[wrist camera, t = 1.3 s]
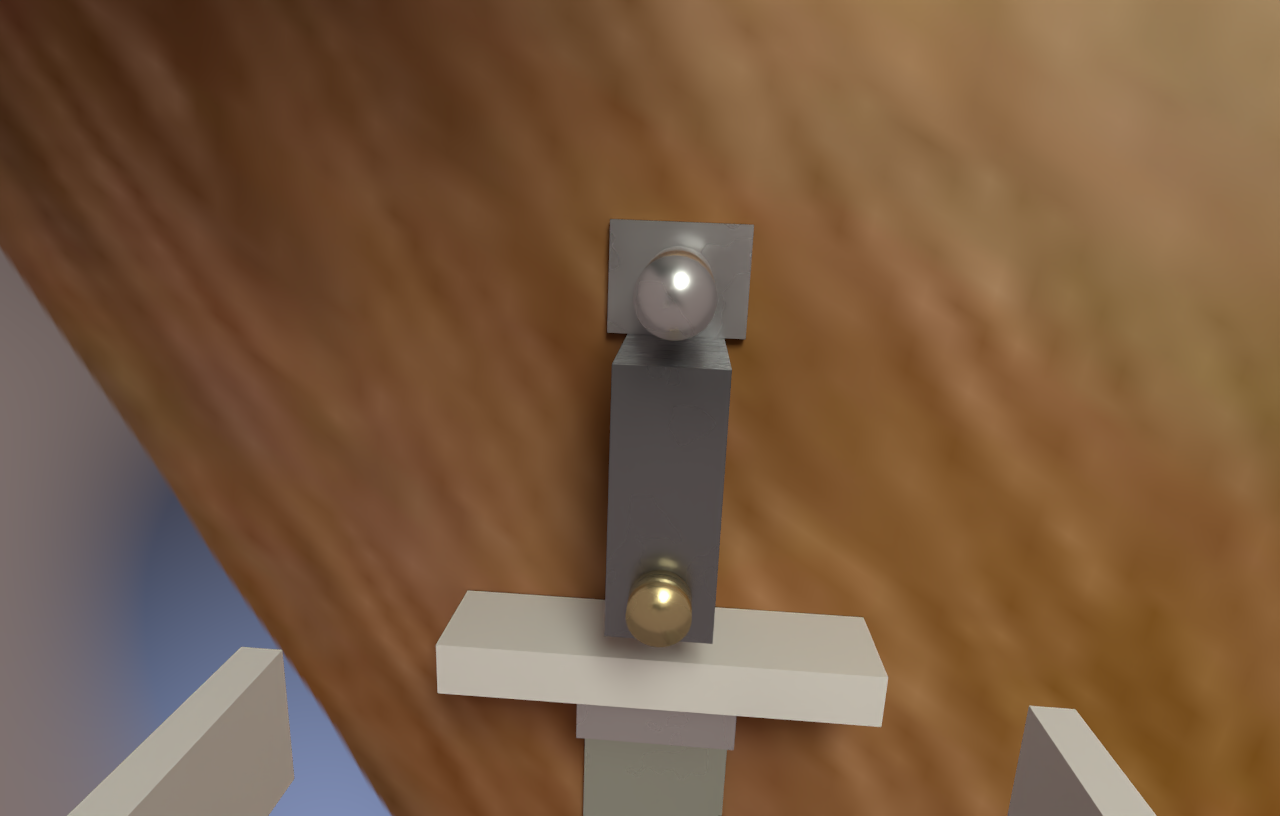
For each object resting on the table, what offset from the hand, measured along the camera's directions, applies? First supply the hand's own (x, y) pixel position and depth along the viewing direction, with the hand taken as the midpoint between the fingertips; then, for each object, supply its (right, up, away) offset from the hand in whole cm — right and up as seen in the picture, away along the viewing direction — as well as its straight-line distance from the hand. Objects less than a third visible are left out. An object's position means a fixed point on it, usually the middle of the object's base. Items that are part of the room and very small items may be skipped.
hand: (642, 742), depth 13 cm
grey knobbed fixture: (+1, +11, +14) cm, 18 cm away
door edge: (+1, -3, +18) cm, 18 cm away
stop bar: (+1, +4, +16) cm, 16 cm away
